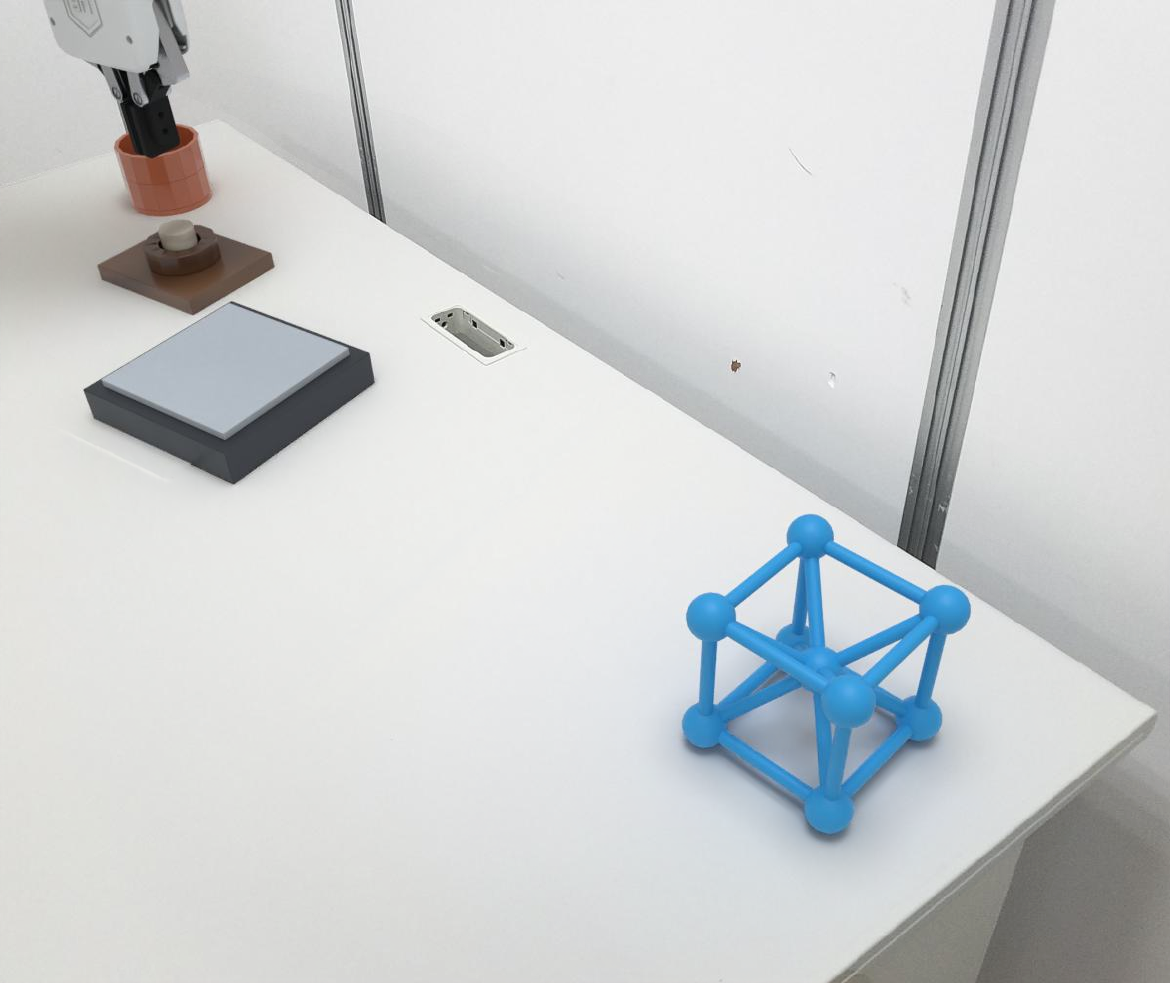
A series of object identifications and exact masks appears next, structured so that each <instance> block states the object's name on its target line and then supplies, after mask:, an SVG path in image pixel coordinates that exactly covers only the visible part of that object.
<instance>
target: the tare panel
mask: <svg viewBox="0 0 1170 983" xmlns="http://www.w3.org/2000/svg"><path fill="white" fill-rule="evenodd" d="M193 225H194V229H195V233H196V236H197V240H198V243H197V245H195V246H193V247H191V248H189V249H185V250H180V251H166V250H164V249H163V247H162V243H161V240H160V236H159V233H158V231H156V232H154V233H152V234H150V235H148V237H147V238H146V239H144V240H142V241H140V242H139V243H137V244H134V245H133V246H131V247H129V248H127V249H125V250H123V251H121V252H120V253H117V254H115V255H113V256H112V257H110V258H108V259H106V260H104V261H102V262H100V263H99V264H97V265H96V266H97V269H98V272H99V275H100V279H101V280H102V281H103V282H106V283H110V284H112V285H115V286H117V287H120V288H122V289H124V290H127V291H130V292H132V293H135V294H138V295H140V296H143V297H145V298H147V299H150V300H153V301H155V302H157V303H160V304H163V305H166V306H169V307H171V308H173V309H176V310H177V311H181V312H184V313H186V314H189V315H191V316H195V315H197V314H199V313H200V312H202V311H204V310H205V309H207V308H209V307H210V306H212V305H214V304H215V303H217V302H218V301H220V300H222V299H224V298H225V297H228V296H229V295H231V294H232V293H234V292H235V291H237V290H239V289H241V288H242V287H245V286H246V285H247V284H249V283H250V282H253V281H254V280H256V279H258V278H260V277H261V276H263V275H264V274H266V273H268V272H270V271H271V270H273V269H275V263H274V258H273V254H272V252H270V251H268V250H264V249H261V248H259V247H255V246H254V245H250V244H247V243H244V242H241V241H239V240H236V239H232V238H230V237H227V236H223V235H220V234H219V233H215V231H214V230H213V229H212V228H209V227H207V226H204V225H201V224H193Z"/></svg>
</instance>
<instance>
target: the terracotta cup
mask: <svg viewBox="0 0 1170 983" xmlns="http://www.w3.org/2000/svg"><path fill="white" fill-rule="evenodd" d="M176 127H177V130H178V134H179V138H180V144H179V146H177V147H175V148H173V149H171V150H169V151H167V152H165V153H163V154H161V155H159V156H157V157H155V158H148V157H146V156H145V155H143V156H142V155H138V154H136V153H135V151H134V149H133V145H132V142H131V139H130V136H129V132H128V131H127V132H126V133H124V134H122V135H121V136H119V138H118V139H116V140H115V141H114V145H113V150H114V153H115V156H116V157H115V158H116V160H117V163H118V166H119V169H120V173H121V176H122V179H123V184H124V186H125V189H126V192H127V196H128V199H129V201H130V203H131V206H132V208H133V210H134V211H136V212H138V213H139V214H141V215H145V216H149V217H150V216H151V217H170V216H171V217H172V216H177V215H183V214H186V213H190V212H192V211H194V210H196V209H199V208H201V207H203V206H204V205H206V204H207V203H208V202H209V201H210V200H211V199H212V198H213V188H212V182H211V178H210V174H209V169H208V166H207V163H206V159H205V158H206V157H205V154H204V151H203V150H204V149H203V146H202V143H201V139H200V134H199V132H198V131H197V129H195V128H194V127H192V126H189V125H185V124H182V123H176Z"/></svg>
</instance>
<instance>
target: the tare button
mask: <svg viewBox="0 0 1170 983" xmlns="http://www.w3.org/2000/svg"><path fill="white" fill-rule="evenodd" d="M194 225H195V224H194V223H193V222H192V221H190V220H188V219H173V220H169V221H166V222H163V223H162V224H161V225H159V227H158V228H157V232H158V233H159V236H160V240H161V243H162V247H163V249H164V250H166V251H180V250H185V249H189V248H191V247H193V246H195V245H197V243H198V240H197V236H196V233H195V229H194Z"/></svg>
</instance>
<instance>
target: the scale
mask: <svg viewBox="0 0 1170 983" xmlns="http://www.w3.org/2000/svg"><path fill="white" fill-rule="evenodd" d="M375 381H376V380H375V375H374V370H373V364H372V358H371V353H370V352H368V351H366V350H363V349H361V348H358V347H355V346H353V345H351V344H347V343H345V342H343V341H340V340H337V339H335V338H331V337H329V336H326V335H323V334H321V333H318V332H316V331H313V330H310V329H307V328H305V327H303V326H299V325H297V324H294V323H292V322H289V321H286V320H284V319H281V318H278V317H275V316H273V315H270V314H268V313H265V312H262V311H259V310H257V309H254V308H251V307H249V306H247V305H244V304H241V303H238V302H235V301H233V300H231V301H228V302H227V303H225V304H224V305H222V306H220V307H219V308H217V309H215V310H213V311H212V312H210V313H209V314H207V315H205V316H204V317H202V318H200V319H199V320H197V321H195V322H193V323H192V324H190V325H189V326H187V327H185V328H183V329H182V330H180V331H178V332H177V333H175V334H174V335H172V336H170V337H168V338H167V339H165V340H164V341H162V342H160V343H159V344H157V345H155V346H153V347H152V348H150V349H148V350H147V351H145V352H143V353H142V354H140V355H138V356H137V357H134V358H132V359H131V360H130V361H128V362H126V363H125V364H123V365H121V366H120V367H118V368H117V369H115V370H113V371H112V372H110V373H108V374H107V375H105V376H103V377H102V378H100V379H98V380H96V381H95V382H93V383H91V384H90V385H88V386H86V387H84V388H83V389H82V390H83V393H84V396H85V398H86V402H87V404H88V407H89V409H90V411H91V414H92V417H93V419H94V420H96V421H98V422H100V423H103V424H104V425H107V426H109V427H111V428H114V429H116V430H117V431H120V432H122V433H124V434H127V435H128V436H130V437H133V438H134V439H137V440H139V441H142V442H143V443H146V444H148V445H150V446H152V447H154V448H155V449H159V450H160V451H163V452H165V453H167V454H169V455H172V456H174V457H176V458H177V459H180V460H183V461H184V462H186V463H188V464H191V465H192V466H194V467H197V468H199V469H201V470H203V471H204V472H208V473H209V474H211V475H214V476H215V477H218V478H220V479H222V480H223V481H227V482H229V483H230V484H236V483H237V482H238V481H240V480H241V479H243V478H244V477H246V475H248V474H249V473H251V472H252V471H254V470H255V469H256V468H258V467H259V466H261V465H262V464H263V463H265V462H266V461H268V460H269V459H270V458H272V457H274V455H276V454H277V453H278V452H280V451H281V450H283V449H284V448H285V447H287V446H288V445H290V444H291V443H293V442H294V441H295V440H297V439H298V438H299V437H300V436H302V435H303V434H305V433H306V432H308V431H309V430H310V429H313V427H315V426H316V425H318V424H319V423H320V422H322V421H323V420H324V419H326V418H327V417H329V416H330V415H331V414H333V413H335V411H337V410H339V409H340V408H341V407H342V406H344V405H345V404H346V403H348V402H349V401H350V400H352V399H354V398H355V397H357V395H359V394H360V393H362V392H364V391H365V390H366V389H368V387H370V386H372V384H374V383H375Z"/></svg>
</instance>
